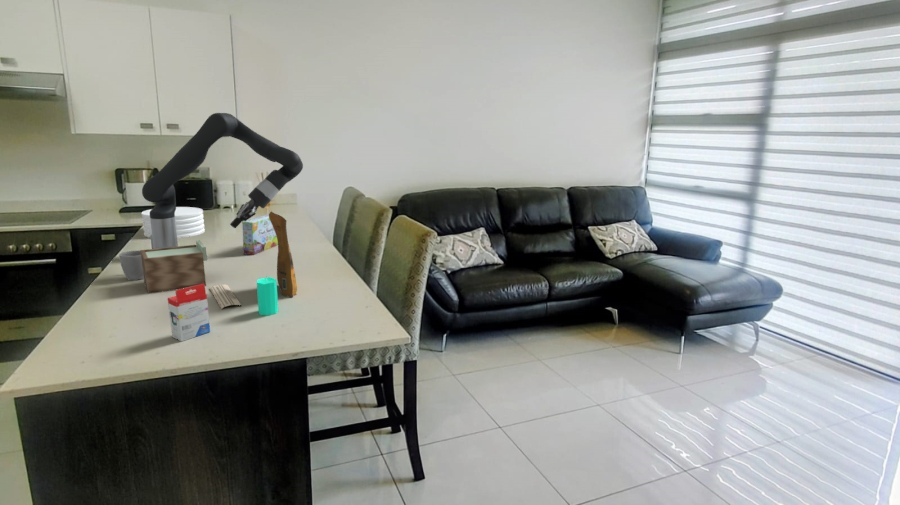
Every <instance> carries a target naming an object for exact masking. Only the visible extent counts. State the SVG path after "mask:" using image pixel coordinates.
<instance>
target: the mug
mask: <svg viewBox="0 0 900 505" xmlns="http://www.w3.org/2000/svg"><path fill="white" fill-rule="evenodd" d="M118 255H119V256H118V257H119V258H118V259H119V262H120V266H121V269H122V272H123V274H124V275H125V276H126V278H127V279H129V280H128V281H139V280H138V279H140V280H144V275H143V267H142V259H141V251H140V250H128V251H124V252H123V251H122V252H121V253H119V254H118Z"/></svg>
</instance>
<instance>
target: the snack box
mask: <svg viewBox="0 0 900 505" xmlns="http://www.w3.org/2000/svg"><path fill="white" fill-rule="evenodd" d="M241 228H242V245H243V247H242V248H243V254H244V255H251V256H254V255H256V254H258V253H259V254H260V253H261V252H264V251H267V250H268V249H269V250H270V249H272V248H274V247H276V246H277V247H278V241H277V236H276V233H275V231H274V228H273V225H272V223H271V221H270V219H269V214H265V215H261V216H258V217H254V218H252V219H251V218H249V219H248V220H246V221H243V222H241Z"/></svg>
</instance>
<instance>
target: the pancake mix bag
mask: <svg viewBox="0 0 900 505" xmlns="http://www.w3.org/2000/svg"><path fill="white" fill-rule="evenodd" d="M268 215H269V219H270V221H271V223H272V225H273V228H274V231H275V233H276V236H277V241H278V245H277V251H278V252H277V259H276V260H277V263H276V280H277V286H278V288H279V290H280V292H281V294H282V295H283V296H284V297H287V298H294V296H297V293H298V292H297V291H298V284H297V278H296V272H295V268H294V267H295V266H294V261H293V257H292V256H293V255H292V252H291V247H290V244H289V239H288V231H287V230H288V229H287V221H288V220H286V219H285V218H284V217H283V216H281V215H280V214H277V213H275V212H273V211H272V210H271V211H270V212H269V213H268Z"/></svg>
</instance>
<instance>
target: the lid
mask: <svg viewBox="0 0 900 505" xmlns="http://www.w3.org/2000/svg"><path fill="white" fill-rule="evenodd" d="M195 243H196V244H195V245H196V247H190V248H180V249H170V250H160V251H150V252H146V255H147V257H148V258H152V257H161V256H171V255H180V254H190V253H199V252H203V260H204V262H206V261H207V260H208V258H207V257H208V256H207V247H206V245H204V243H203V242H202V241H201V240H200V239H199V240H195Z"/></svg>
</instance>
